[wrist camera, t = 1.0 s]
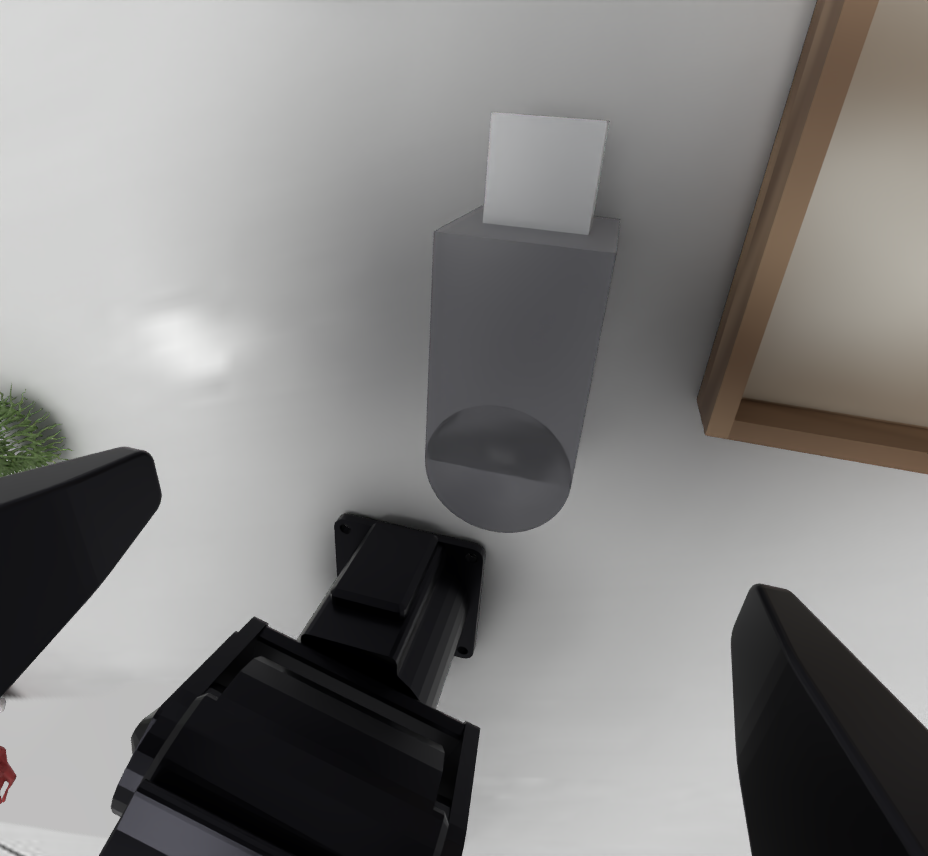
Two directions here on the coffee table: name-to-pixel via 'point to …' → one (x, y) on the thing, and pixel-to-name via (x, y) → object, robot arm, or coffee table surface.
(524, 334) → the plug
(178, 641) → the coffee table surface
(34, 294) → the coffee table surface
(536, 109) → the coffee table surface
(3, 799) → the figurine
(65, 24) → the coffee table surface
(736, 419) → the tray
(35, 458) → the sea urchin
